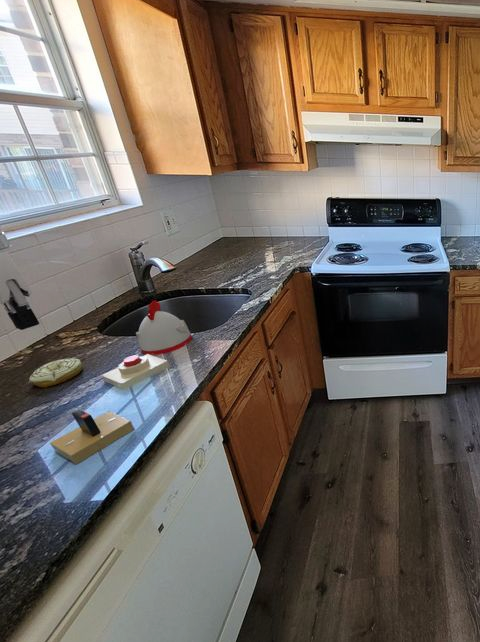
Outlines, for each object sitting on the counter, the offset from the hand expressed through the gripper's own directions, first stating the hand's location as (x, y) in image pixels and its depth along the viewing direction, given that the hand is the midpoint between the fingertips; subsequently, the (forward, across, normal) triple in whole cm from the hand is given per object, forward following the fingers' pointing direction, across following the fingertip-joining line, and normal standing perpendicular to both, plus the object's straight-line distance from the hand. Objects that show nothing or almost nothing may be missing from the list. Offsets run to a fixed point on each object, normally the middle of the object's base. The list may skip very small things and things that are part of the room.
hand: (28, 326), depth 80 cm
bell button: (+22, -6, +16) cm, 27 cm away
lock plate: (+25, +14, -3) cm, 29 cm away
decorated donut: (+25, -26, +6) cm, 37 cm away
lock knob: (+23, +14, -3) cm, 27 cm away
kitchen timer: (+25, -16, +30) cm, 42 cm away
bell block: (+25, -6, +16) cm, 30 cm away
